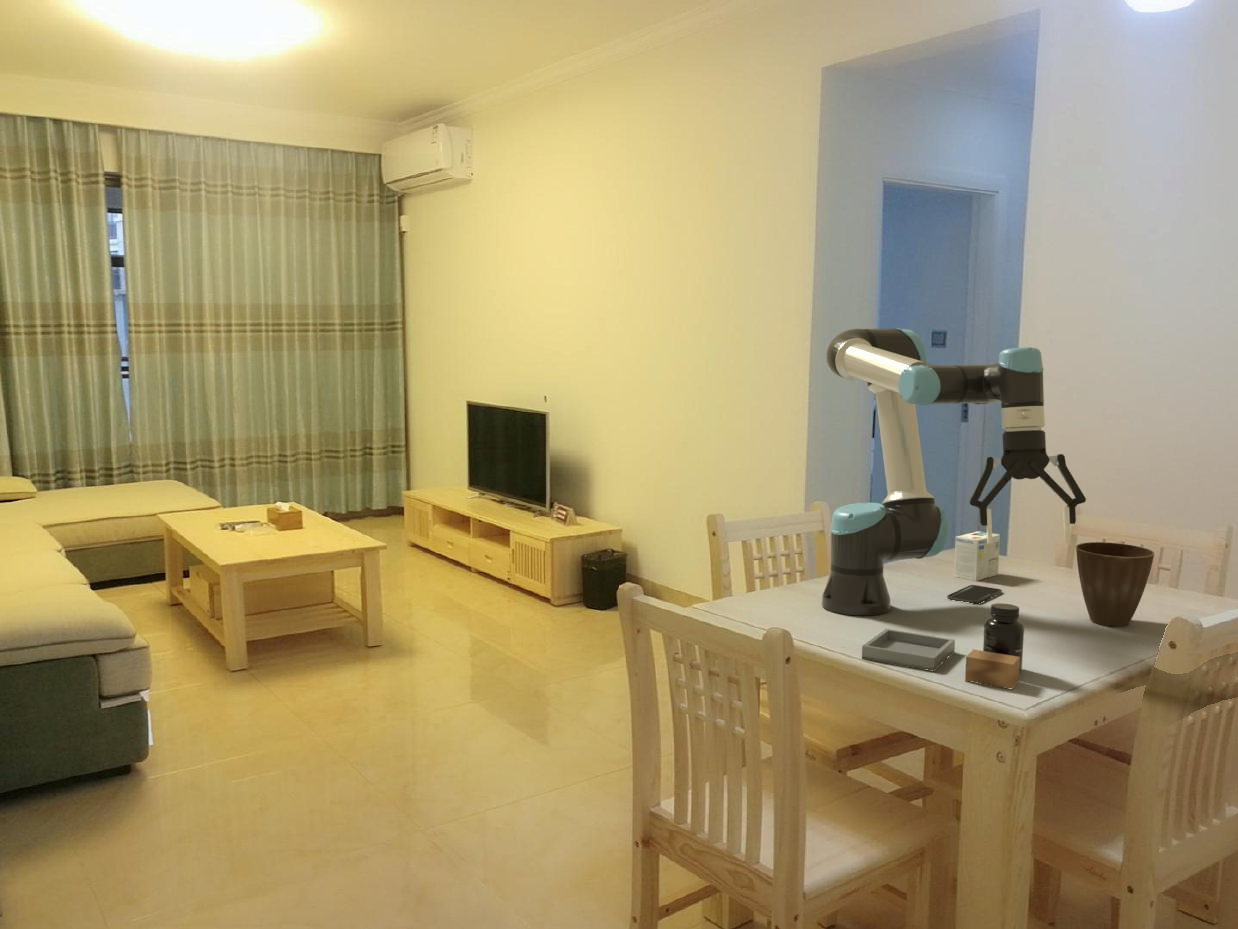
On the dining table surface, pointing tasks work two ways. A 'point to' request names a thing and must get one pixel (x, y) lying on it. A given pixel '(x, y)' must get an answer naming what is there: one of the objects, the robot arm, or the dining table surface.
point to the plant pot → (1113, 580)
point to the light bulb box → (976, 556)
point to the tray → (908, 649)
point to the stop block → (992, 668)
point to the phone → (974, 594)
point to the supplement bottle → (1004, 631)
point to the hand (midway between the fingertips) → (1028, 542)
